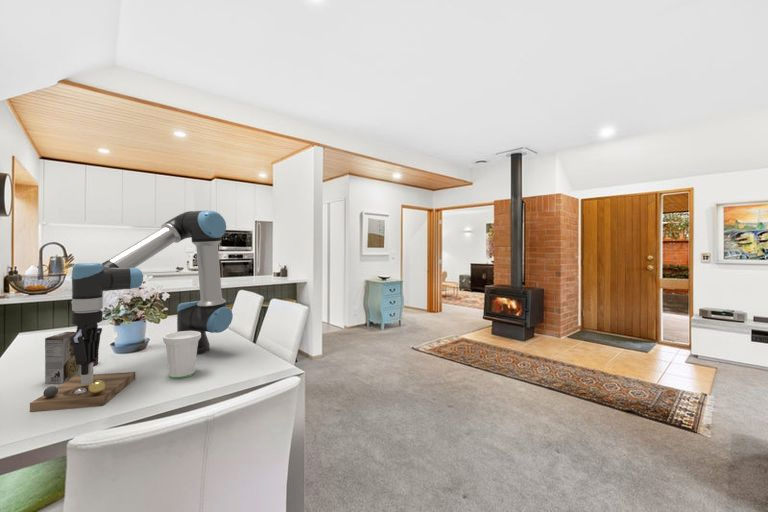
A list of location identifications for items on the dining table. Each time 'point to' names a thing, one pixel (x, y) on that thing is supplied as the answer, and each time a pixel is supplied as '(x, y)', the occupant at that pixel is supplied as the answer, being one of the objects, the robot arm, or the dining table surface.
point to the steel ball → (80, 390)
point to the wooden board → (85, 399)
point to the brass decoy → (97, 387)
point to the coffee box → (60, 359)
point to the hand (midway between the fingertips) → (87, 383)
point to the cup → (181, 353)
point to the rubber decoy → (50, 391)
